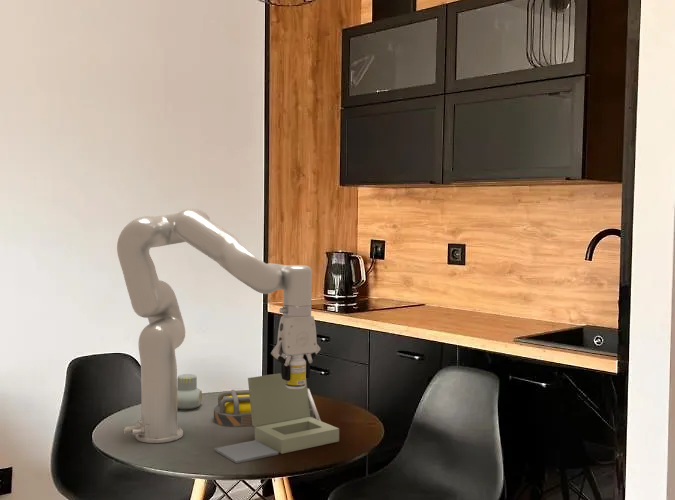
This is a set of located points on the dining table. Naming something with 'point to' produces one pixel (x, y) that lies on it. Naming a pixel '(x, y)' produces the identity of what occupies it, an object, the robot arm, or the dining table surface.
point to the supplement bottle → (297, 372)
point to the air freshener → (188, 392)
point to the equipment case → (286, 416)
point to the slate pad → (246, 451)
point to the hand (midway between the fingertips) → (295, 377)
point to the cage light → (238, 409)
